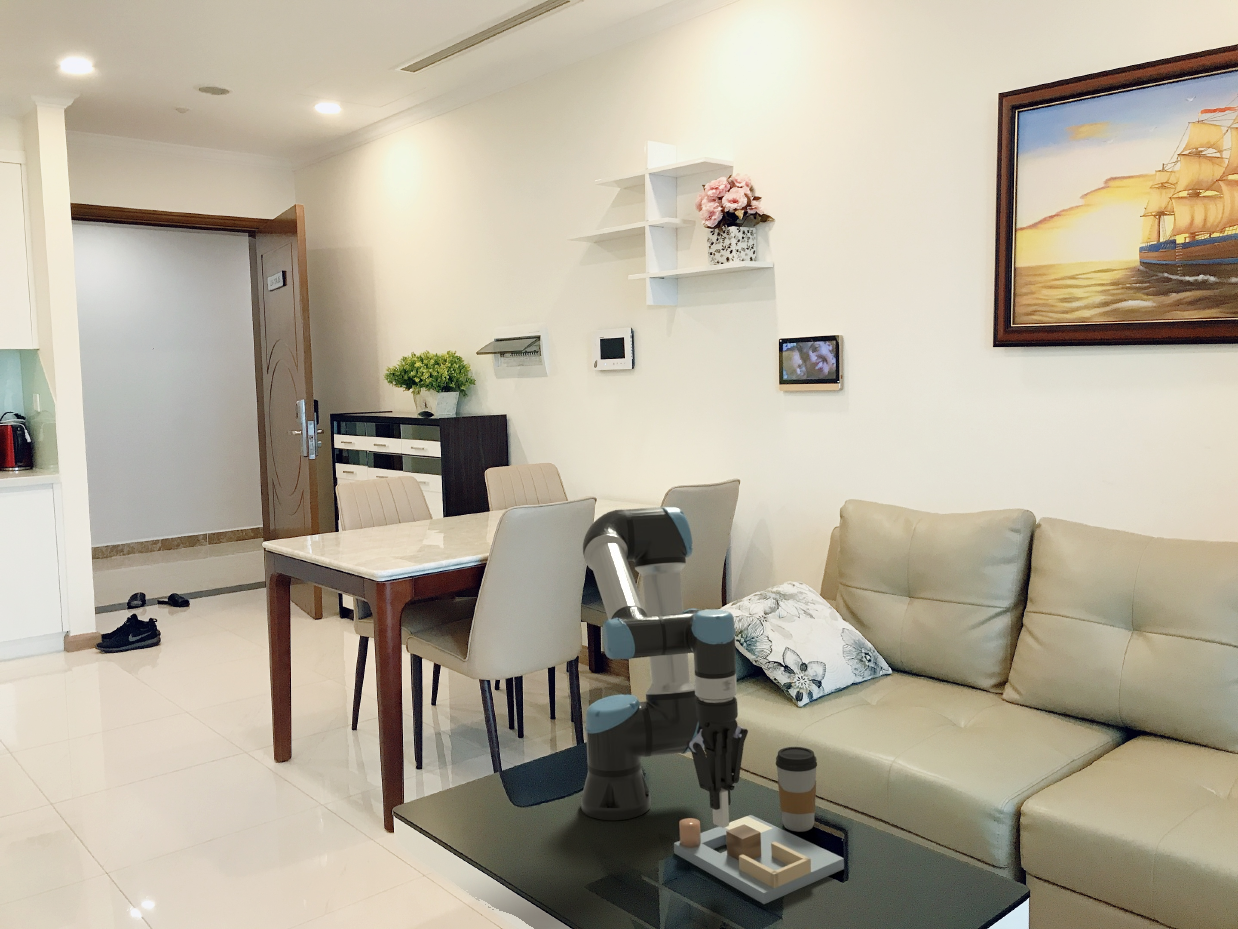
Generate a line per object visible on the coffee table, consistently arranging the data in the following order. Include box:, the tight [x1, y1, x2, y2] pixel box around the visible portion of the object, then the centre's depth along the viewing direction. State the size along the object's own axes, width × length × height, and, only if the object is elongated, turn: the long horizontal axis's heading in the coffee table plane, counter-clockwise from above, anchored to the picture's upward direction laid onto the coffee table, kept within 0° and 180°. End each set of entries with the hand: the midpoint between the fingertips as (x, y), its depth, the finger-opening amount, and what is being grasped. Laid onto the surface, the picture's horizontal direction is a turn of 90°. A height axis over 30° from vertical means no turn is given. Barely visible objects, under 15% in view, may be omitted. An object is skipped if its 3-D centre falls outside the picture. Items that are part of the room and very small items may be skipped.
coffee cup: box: [775, 746, 818, 832], centre depth 196 cm, size 8×8×15 cm
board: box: [673, 814, 845, 905], centre depth 182 cm, size 25×20×4 cm
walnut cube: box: [726, 824, 761, 860], centre depth 180 cm, size 4×4×4 cm
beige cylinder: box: [678, 817, 702, 848], centre depth 186 cm, size 4×4×4 cm
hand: (721, 824), depth 175 cm, fingers closed
